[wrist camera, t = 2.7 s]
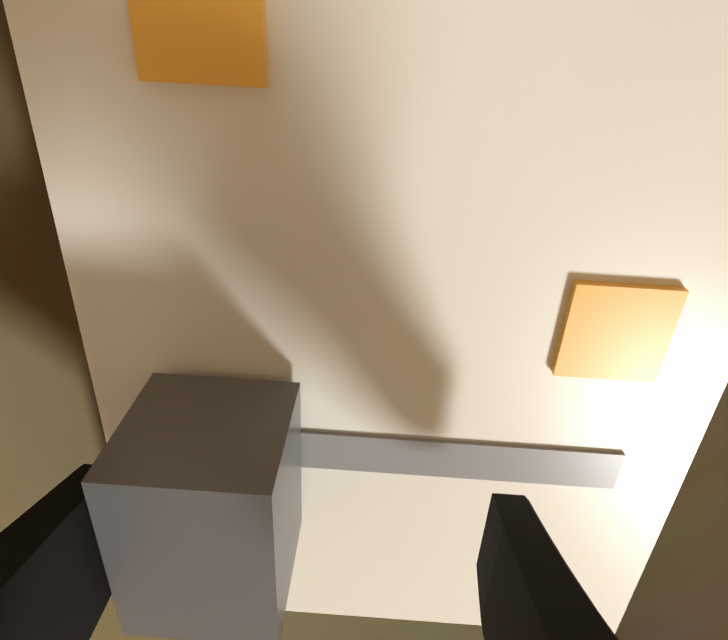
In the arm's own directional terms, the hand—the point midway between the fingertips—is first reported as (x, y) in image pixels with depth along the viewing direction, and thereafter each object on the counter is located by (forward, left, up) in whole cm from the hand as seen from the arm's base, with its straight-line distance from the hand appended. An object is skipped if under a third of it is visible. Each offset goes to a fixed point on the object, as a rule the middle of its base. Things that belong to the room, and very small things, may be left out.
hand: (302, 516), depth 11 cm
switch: (-2, 0, -2) cm, 3 cm away
